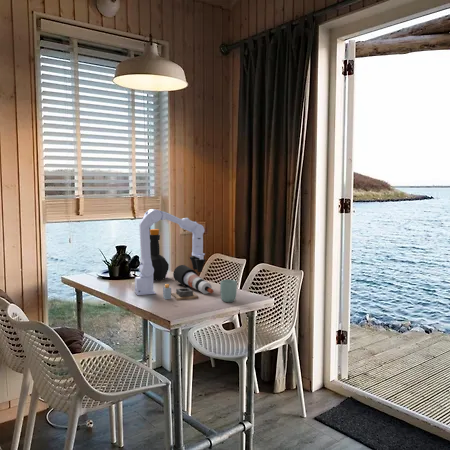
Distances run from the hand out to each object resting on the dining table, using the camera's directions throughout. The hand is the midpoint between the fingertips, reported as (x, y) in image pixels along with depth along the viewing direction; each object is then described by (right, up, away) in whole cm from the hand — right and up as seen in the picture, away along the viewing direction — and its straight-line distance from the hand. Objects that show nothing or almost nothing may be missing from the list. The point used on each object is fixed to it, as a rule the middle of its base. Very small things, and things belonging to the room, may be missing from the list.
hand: (197, 270), depth 240 cm
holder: (-6, -12, -16) cm, 21 cm away
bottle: (-28, -8, +26) cm, 39 cm away
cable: (-1, -11, 0) cm, 11 cm away
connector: (-14, -12, -20) cm, 27 cm away
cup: (+17, -13, -25) cm, 32 cm away
